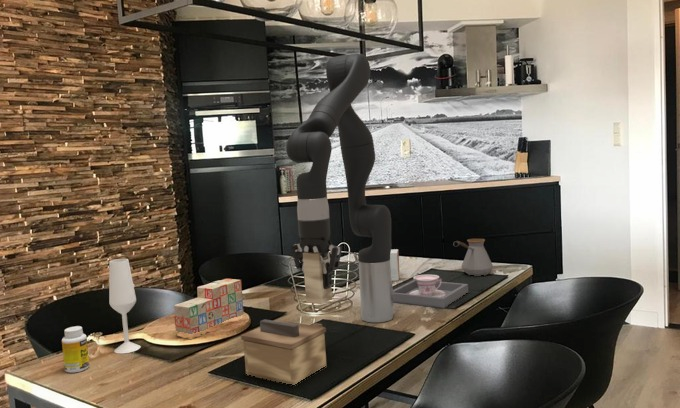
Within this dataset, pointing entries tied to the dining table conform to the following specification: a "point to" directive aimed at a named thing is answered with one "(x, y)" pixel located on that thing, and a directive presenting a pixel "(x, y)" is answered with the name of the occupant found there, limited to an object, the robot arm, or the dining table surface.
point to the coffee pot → (476, 258)
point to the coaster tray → (450, 289)
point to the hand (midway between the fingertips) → (318, 287)
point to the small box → (394, 264)
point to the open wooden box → (285, 360)
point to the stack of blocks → (210, 306)
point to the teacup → (428, 286)
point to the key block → (315, 279)
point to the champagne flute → (122, 297)
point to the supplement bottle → (75, 350)
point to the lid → (283, 333)
